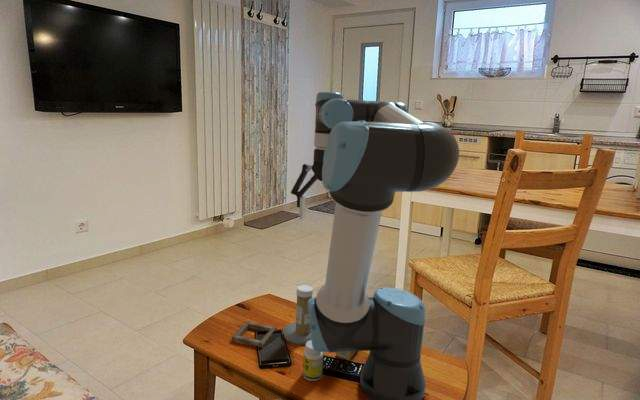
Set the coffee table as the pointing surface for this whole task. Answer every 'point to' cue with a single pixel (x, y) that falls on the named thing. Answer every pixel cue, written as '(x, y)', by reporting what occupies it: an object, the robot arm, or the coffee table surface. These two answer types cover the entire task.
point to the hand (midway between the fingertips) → (323, 221)
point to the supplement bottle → (312, 363)
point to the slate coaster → (295, 335)
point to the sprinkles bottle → (303, 309)
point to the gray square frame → (248, 341)
